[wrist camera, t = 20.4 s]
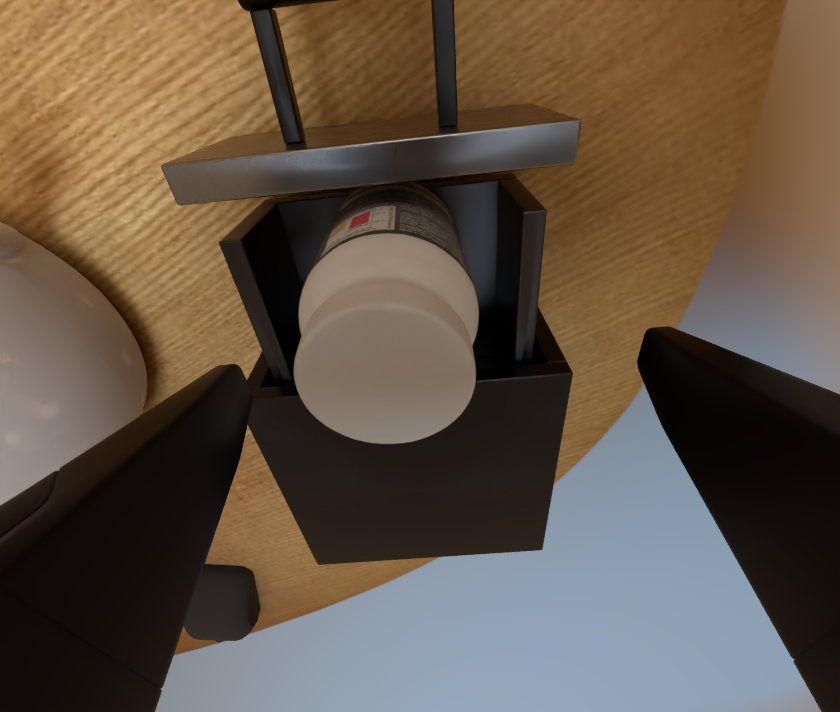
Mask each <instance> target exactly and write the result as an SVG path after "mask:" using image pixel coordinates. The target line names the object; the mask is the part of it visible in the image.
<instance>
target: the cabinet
mask: <svg viewBox="0 0 840 712" xmlns="http://www.w3.org/2000/svg"><path fill="white" fill-rule="evenodd" d="M572 375H573V373H572V371H571V369H570V367H569V365H568V363H567V362H566V359H565V357H564V355H563V353H562V351H561V350H560V348H559V346H558V344H557V342H556V340H555V338H554V336H553V334H552V332H551V331H550V329H549V327H548V325H547V323H546V321H545V319H544V317H543V315H542V313H541V312H540V310H539V308H537V319H536V329H535V340H534V351H533V361H532V365H521V366H509V367H497V368H486V369H476V382H475V388H474V391H473V394H472V397H471V399H470V401H469V403H468V405H467V407H466V408H465V410H464V411H463V412H462V414H461V415H460V416H459V417H458V418H457V419H456V420H455V421H453V422H452V423H451V424H450V425H448V426H447V427H446V428H444V429H442V430H441V431H439V432H437V433H435V434H433V435H431V436H428V437H425V438H423V439H419V440H416V441H412V442H406V443H397V444H379V443H369V442H364V441H360V440H356V439H352V438H349V437H347V436H344V435H342V434H340V433H338V432H336V431H334V430H332V429H330V428H329V427H327V426H326V425H324V424H323V423H322V422H320V421H319V420H318V419H317V418H316V417H315V416H314V415H313V414H312V413H311V412H310V411H309V410H308V409H307V407H306V406H305V404H304V403H303V401H302V399H301V397H300V395H299V393H298V391H297V388H296V385H285V386H277V385H276V383H275V380H274V378H273V375H272V373H271V370H270V368H269V366H268V363H267V361H266V358H265V356H264V353H263V351H262V353H261V355H260V357H259V358H258V360H257V362H256V364H255V366H254V368H253V370H252V372H251V374H250V376H249V378H248V380H247V383H248V385H249V387H250V389H251V391H252V397H253V399H252V406H251V410H250V415H249V420H248V426H249V428H250V430H251V432H252V434H253V436H254V438H255V440H256V442H257V444H258V446H259V448H260V450H261V452H262V454H263V456H264V458H265V460H266V462H267V464H268V466H269V468H270V470H271V472H272V474H273V476H274V478H275V480H276V482H277V484H278V486H279V488H280V490H281V492H282V494H283V496H284V498H285V500H286V502H287V504H288V506H289V508H290V510H291V512H292V514H293V516H294V518H295V520H296V522H297V524H298V526H299V528H300V530H301V532H302V534H303V536H304V538H305V540H306V542H307V544H308V546H309V548H310V550H311V552H312V554H313V556H314V558H315V560H316V562H317V564H318V565H322V564H337V563H353V562H368V561H383V560H398V559H413V558H429V557H443V556H458V555H474V554H489V553H504V552H520V551H534V550H542V548H543V542H544V537H545V531H546V525H547V520H548V514H549V508H550V502H551V496H552V490H553V485H554V479H555V473H556V468H557V462H558V456H559V450H560V444H561V439H562V433H563V427H564V421H565V416H566V410H567V404H568V398H569V392H570V387H571V381H572Z"/></svg>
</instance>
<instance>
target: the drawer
mask: <svg viewBox="0 0 840 712" xmlns="http://www.w3.org/2000/svg"><path fill="white" fill-rule="evenodd" d="M328 1H336V0H238V2H239V4H240V5H241V7H242V8H243V9H244V10H246V11H250V14H251V18H252V22H253V26H254V30H255V33H256V37H257V41H258V45H259V48H260V52H261V56H262V60H263V64H264V67H265V71H266V75H267V79H268V83H269V86H270V90H271V94H272V98H273V102H274V105H275V109H276V113H277V117H278V121H279V124H280V128H281V131H279V132H270V133H261V134H252V135H243V136H234V137H230V138H228V139H225V140H223V141H220V142H218V143H215V144H212V145H210V146H207V147H205V148H202V149H200V150H197V151H195V152H192V153H190V154H187V155H185V156H182V157H180V158H177V159H175V160H172V161H170V162H167V163H164V164H163V165H161V168H162V170H163V173H164V175H165V177H166V179H167V182H168V184H169V186H170V189H171V191H172V193H173V195H174V198H175V200H176V202H177V204H178V205H190V204H199V203H209V202H218V201H228V200H238V199H247V198H257V197H266V196H276V195H285V194H295V193H305V192H314V191H324V190H333V189H343V188H352V187H362V186H372V185H381V184H391V183H400V182H410V181H419V180H429V179H438V178H448V177H458V176H467V175H477V174H486V173H496V172H505V171H515V170H525V169H534V168H544V167H553V166H563V165H572V164H575V163H576V160H577V152H578V144H579V136H580V129H581V119H578V118H575V117H571V116H568V115H565V114H562V113H559V112H556V111H552V110H549V109H546V108H543V107H540V106H537V105H533V104H522V105H513V106H504V107H495V108H486V109H477V110H468V111H459V112H457V85H456V54H455V23H454V0H431V11H432V29H433V46H434V63H435V80H436V98H437V114H432V115H423V116H414V117H405V118H396V119H387V120H378V121H369V122H360V123H351V124H342V125H333V126H324V127H315V128H306V129H303V125H302V121H301V117H300V112H299V108H298V104H297V100H296V95H295V91H294V87H293V83H292V78H291V74H290V70H289V65H288V61H287V57H286V53H285V48H284V44H283V40H282V36H281V31H280V27H279V23H278V19H277V14H276V11H275V10H273V9H272V8H280V7H288V6H296V5H304V4H312V3H320V2H328ZM418 185H420V186H423V187H425V188H426V189H428V190H429V191H431V192H432V193H434V194H435V195H436V196H437V197H438V198H439V199H440V200H441V201H442V202H443V203H444V205H445V206H446V207H447V209H448V211H449V212H450V214H451V216H452V218H453V220H454V223H455V225H456V228H457V231H458V234H459V236H460V240H461V244H462V247H463V251H464V255H465V258H466V262H467V264H468V268H469V272H470V275H471V278H472V281H473V284H474V288H475V292H476V296H477V301H478V308H479V321H478V329H477V334H476V337H475V340H474V343H473V345H472V348H473V354H474V360H475V366H476V369H486V368H497V367H509V366H521V365H532V361H533V351H534V340H535V329H536V319H537V308H538V297H539V286H540V276H541V265H542V254H543V244H544V233H545V222H546V212H547V211H546V209H545V208H544V207H543V206H542V205H541V204H540V203H539V201H538V200H537V199H536V198H535V197H534V196H533V195H532V194H531V193H530V192H529V191H528V190H527V189H526V188H525V187H524V186H523V184H522V183H521V182H520V181H519V180H518V179H517V178H516V177H515V176H514V175H513V174H508V175H499V176H489V177H479V178H470V179H460V180H451V181H441V182H432V183H422V184H418ZM355 191H356V190H355ZM355 191H345V192H336V193H326V194H316V195H307V196H297V197H288V198H278V199H268V200H265V201H264V202H263V203H261V204H260V205H259V206H258V207H257V208H256V209H255V210H254V211H253V212H252V213H250V214H249V215H248V216H247V217H246V218H245V219H244V220H243V221H242V222H241V223H240V224H238V225H237V226H236V227H235V228H234V229H233V230H232V231H231V232H230V233H229V234H228V235H227V236H225V237H224V238H223V239H222V240H221V241H220V242H219V245H220V247H221V250H222V252H223V254H224V257H225V259H226V262H227V264H228V267H229V269H230V272H231V274H232V277H233V279H234V282H235V284H236V287H237V289H238V291H239V294H240V296H241V299H242V301H243V304H244V306H245V309H246V311H247V314H248V316H249V319H250V321H251V324H252V326H253V329H254V331H255V333H256V336H257V338H258V341H259V343H260V346H261V348H262V351H263V353H264V356H265V358H266V361H267V363H268V366H269V368H270V370H271V373H272V375H273V378H274V380H275V383H276V385H277V386H285V385H296V384H295V379H294V361H295V356H296V353H297V349H298V346H299V343H300V339H301V337H302V335H301V332H300V326H299V303H300V298H301V294H302V290H303V287H304V284H305V282H306V279H307V277H308V275H309V272H310V270H311V268H312V266H313V264H314V261H315V260H316V257H317V255H318V253H319V250H320V248H321V246H322V244H323V241H324V239H325V237H326V235H327V233H328V230H329V228H330V226H331V223H332V221H333V218H334V217H335V215H336V213H337V212H338V210H339V208H340V207H341V205H342V204H343V203H344V202H345V201H346V199H347V198H348V197H349V196H350V195H352V194H353V193H354V192H355Z"/></svg>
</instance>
